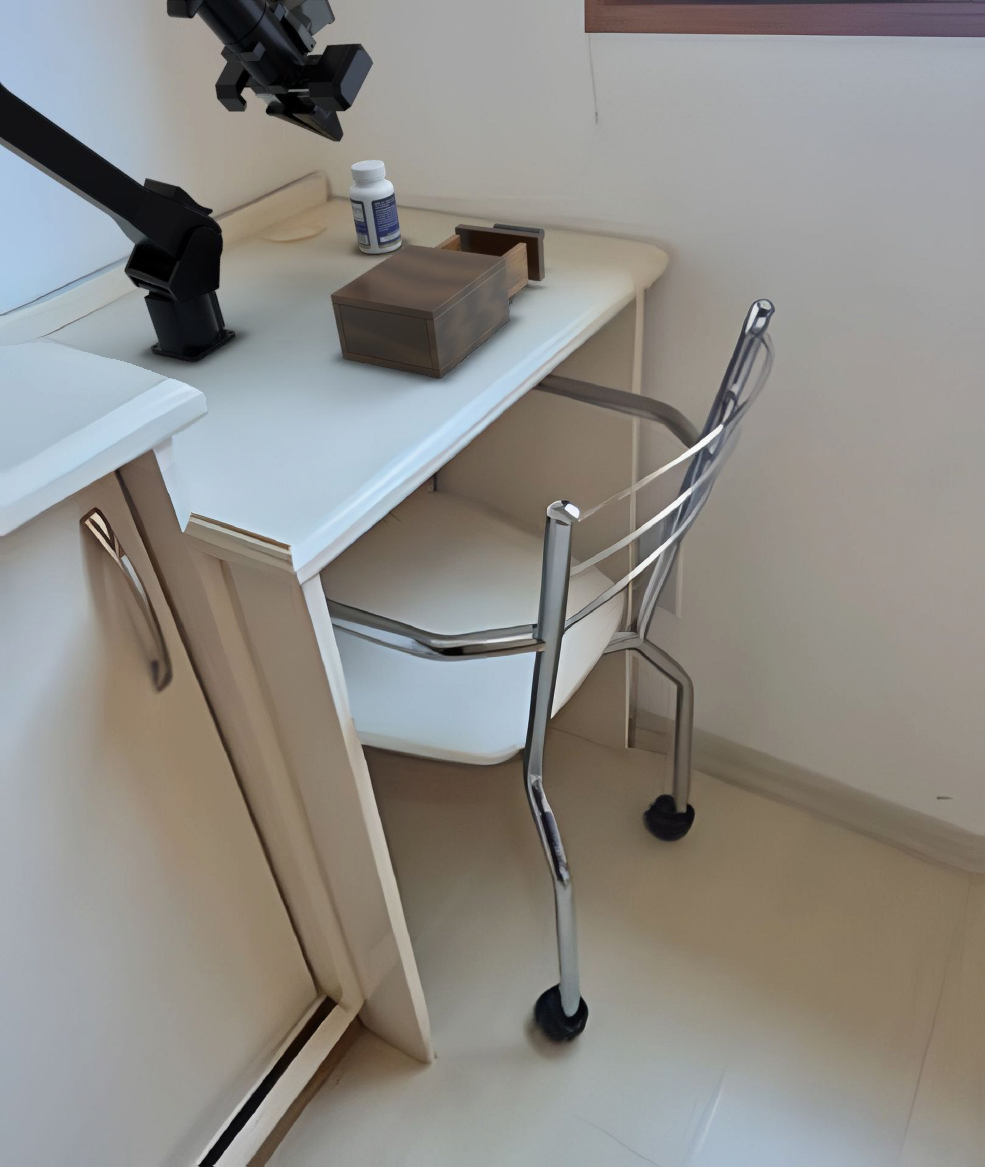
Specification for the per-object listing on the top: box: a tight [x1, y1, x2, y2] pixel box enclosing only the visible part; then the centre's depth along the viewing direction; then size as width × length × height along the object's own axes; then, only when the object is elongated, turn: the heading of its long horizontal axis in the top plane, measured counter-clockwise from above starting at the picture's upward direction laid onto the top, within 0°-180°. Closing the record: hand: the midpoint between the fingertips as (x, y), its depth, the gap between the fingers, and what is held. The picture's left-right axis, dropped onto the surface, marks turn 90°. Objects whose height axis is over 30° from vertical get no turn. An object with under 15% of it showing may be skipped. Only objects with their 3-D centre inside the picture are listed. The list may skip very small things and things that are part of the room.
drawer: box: [433, 223, 546, 300], centre depth 100 cm, size 17×10×5 cm, turn 150°
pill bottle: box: [349, 159, 403, 255], centre depth 113 cm, size 5×5×10 cm
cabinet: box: [330, 244, 511, 379], centre depth 92 cm, size 14×12×7 cm
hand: (339, 138), depth 101 cm, fingers closed
